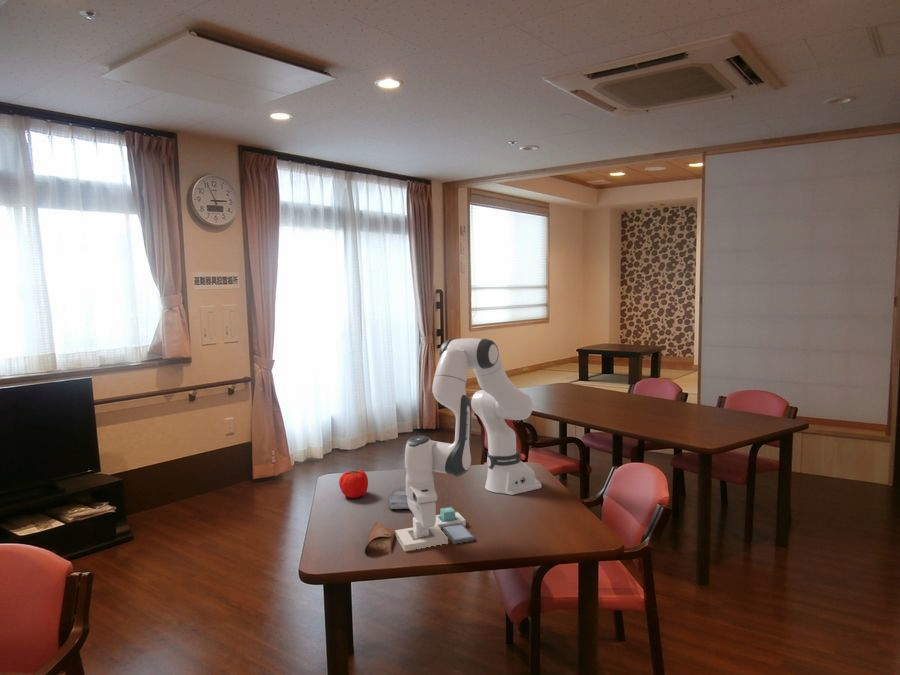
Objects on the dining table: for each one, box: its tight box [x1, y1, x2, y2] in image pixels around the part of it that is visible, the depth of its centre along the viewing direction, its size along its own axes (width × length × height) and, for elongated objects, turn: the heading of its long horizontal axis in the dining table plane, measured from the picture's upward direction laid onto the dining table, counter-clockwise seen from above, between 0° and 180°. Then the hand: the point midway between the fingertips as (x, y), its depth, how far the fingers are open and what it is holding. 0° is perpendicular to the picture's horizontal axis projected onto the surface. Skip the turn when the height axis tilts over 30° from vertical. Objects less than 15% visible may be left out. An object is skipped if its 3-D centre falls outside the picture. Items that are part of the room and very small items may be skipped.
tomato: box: [338, 467, 369, 499], centre depth 229 cm, size 11×13×10 cm
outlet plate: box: [394, 524, 449, 552], centre depth 187 cm, size 14×12×2 cm
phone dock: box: [435, 511, 476, 545], centre depth 194 cm, size 10×20×2 cm, turn 19°
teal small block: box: [439, 506, 456, 522], centre depth 199 cm, size 4×4×5 cm
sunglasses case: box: [364, 522, 396, 556], centre depth 186 cm, size 18×7×7 cm
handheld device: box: [387, 485, 410, 510], centre depth 222 cm, size 10×20×5 cm, turn 1°
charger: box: [412, 516, 429, 538], centre depth 187 cm, size 4×4×6 cm
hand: (421, 530), depth 187 cm, fingers closed on charger, 4 cm apart
